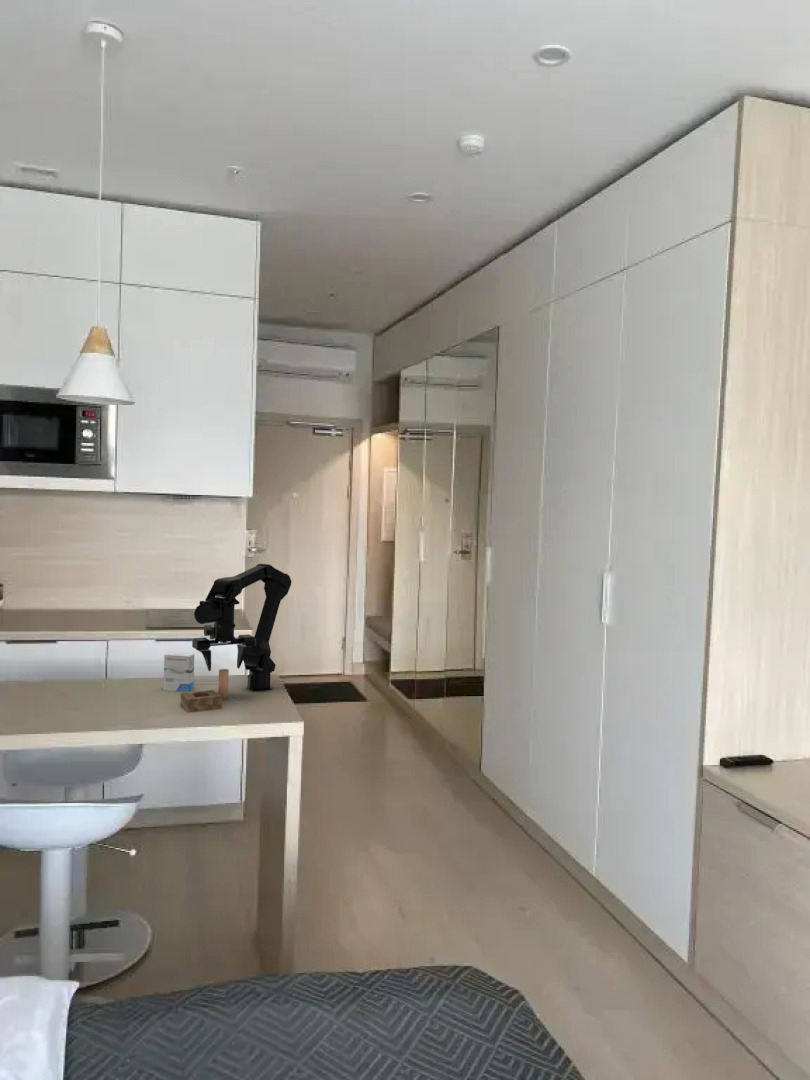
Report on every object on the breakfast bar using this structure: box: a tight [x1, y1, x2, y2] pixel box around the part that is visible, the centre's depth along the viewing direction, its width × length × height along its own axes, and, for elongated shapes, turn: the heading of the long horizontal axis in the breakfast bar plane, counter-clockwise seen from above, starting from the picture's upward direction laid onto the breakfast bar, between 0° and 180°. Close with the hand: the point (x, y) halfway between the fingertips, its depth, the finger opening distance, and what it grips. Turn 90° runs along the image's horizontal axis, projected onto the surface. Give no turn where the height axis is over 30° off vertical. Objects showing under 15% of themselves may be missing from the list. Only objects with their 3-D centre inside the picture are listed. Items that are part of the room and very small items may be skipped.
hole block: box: [180, 689, 223, 713], centre depth 250 cm, size 10×8×4 cm
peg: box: [217, 668, 230, 700], centre depth 260 cm, size 3×3×9 cm
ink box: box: [163, 651, 195, 692], centre depth 269 cm, size 8×5×12 cm, turn 84°
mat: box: [222, 693, 241, 703], centre depth 261 cm, size 8×8×1 cm
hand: (223, 669), depth 259 cm, fingers open, 9 cm apart
